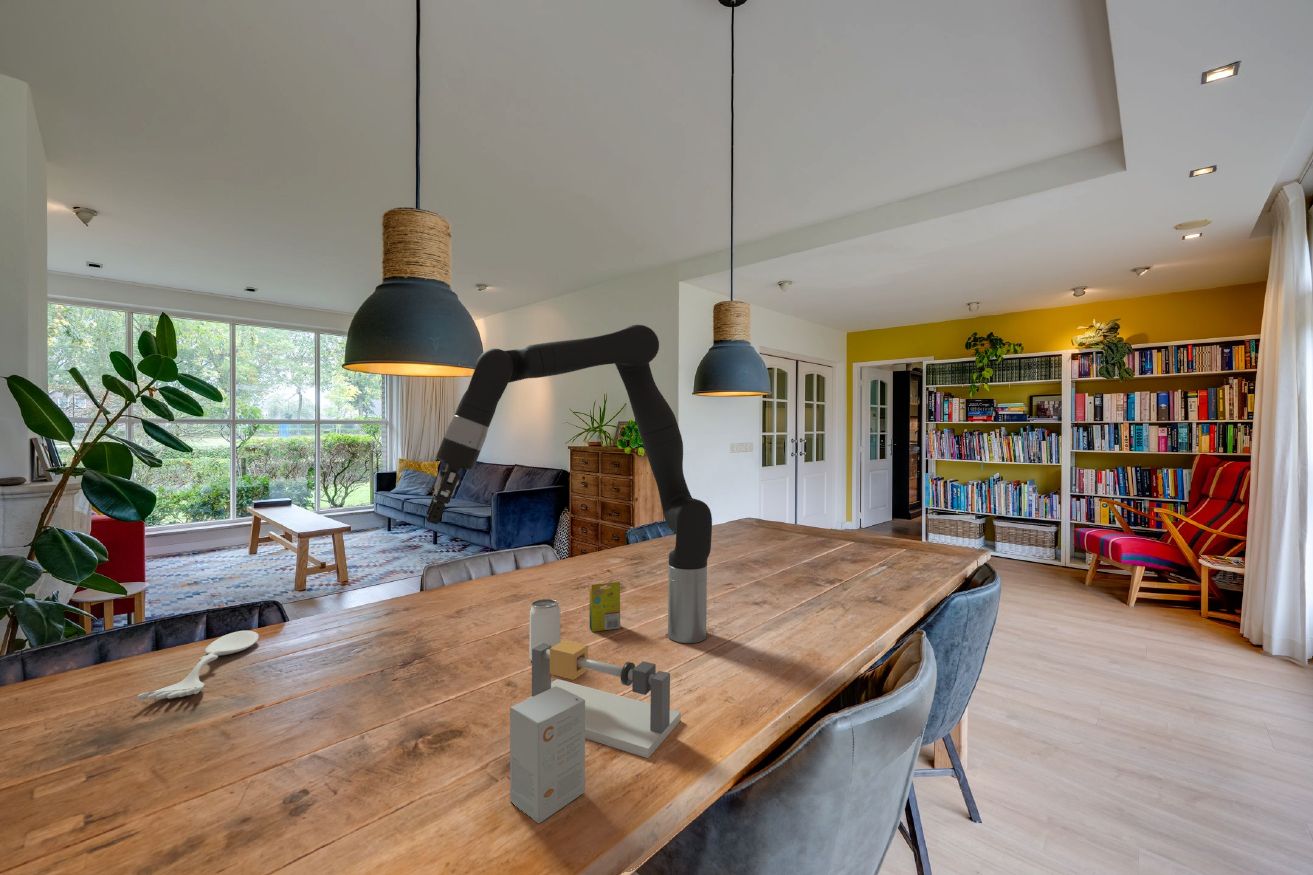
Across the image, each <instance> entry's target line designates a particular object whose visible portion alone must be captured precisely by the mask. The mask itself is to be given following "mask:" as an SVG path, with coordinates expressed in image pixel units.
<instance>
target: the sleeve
mask: <svg viewBox="0 0 1313 875" xmlns="http://www.w3.org/2000/svg"><path fill="white" fill-rule="evenodd" d="M578 657H583V658H587V659H589V645H588V644H584V643H580V642H575V641H571V640H567V639H564V640H562V641H560V643H559V644H557V645H555V646H554V647H552V648H550V674H551V675H553V676H557V677H561V678H565V679H569V680H572V681H573V680H574V681H575V679H577V678H578V677H579V676H581V675H582V674H584V673H585V672H586V671H588V670H589V669H585V668H581V667H577V658H578Z"/></svg>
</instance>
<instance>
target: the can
mask: <svg viewBox="0 0 1313 875" xmlns="http://www.w3.org/2000/svg"><path fill="white" fill-rule="evenodd" d="M529 610H530V611H529V660H530V661H531V662H532V649H533V648H535V647H537V646H538V645H540V644H542V643H544V644H548V645H551V648H552V647H554V646H555V645H557V644H559V643H561V608H560V605H559V601H558V600H555V599H551V598H545V599H544V598H543V599H539V600H535V601H533V602H531V608H530V609H529Z"/></svg>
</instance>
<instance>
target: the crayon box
mask: <svg viewBox="0 0 1313 875" xmlns="http://www.w3.org/2000/svg"><path fill="white" fill-rule="evenodd" d="M620 584H621V583H620V581H616V582H607V583H597V584H596V583H595V584H591V589H589V592H588V593H589V595H588V596H589V597H588V598H589V630H590V631H591V633H594V632H600V631H608V630H616V629H617V630H620V629H621V590H620V589H621V588H620V587H621V586H620ZM605 586H607V587H605ZM609 586H611V587H609ZM601 587H602V588H601Z"/></svg>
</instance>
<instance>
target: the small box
mask: <svg viewBox="0 0 1313 875" xmlns="http://www.w3.org/2000/svg"><path fill="white" fill-rule="evenodd" d="M530 697H531V696H530ZM528 698H529V697H528ZM528 698H526V699H527V700H526V699H524V700H523V701H521V702H518V703H516V704H515V705H513V706H510V707H509V741H510V742H509V750H510V752H509V754H510V758H509V761H510V762H509V764H510V765H509V770H510V771H509V772H510V774H509V775H510V776H509V784H510V788H509V789H510V790H509V791H510V792H509V794H510V795H509V797H510V798H509V799H510V803H511V802H512V803H513V804H514V805H516V806H517V807H518V808H519V809H518V808H517V807H516V806H515V807H516V808H517V809H518V810H520V811H521V810H522V811H523V812H522V811H521V812H522V813H523V814H525V813H526V814H527V815H528V817H529V816H530V817H531V818H532V819H531V818H530V817H529V818H530V819H531V820H533V821H535V822H536V823H537V824H541V823H543V822H544V821H545V820H547V819H548V818H550V817H551V816H553V815H554V814H556V813H558V811H560V810H561V809H562V808H564V807H566V806H567V805H568V804H570V803H571V802H572V801H574V800H576V799H577V798H579V797H580V796H582V795H583V794H584V793H586V738H585V700H584V699H582V698H580V697H579V696H577V695H575V694H572V693H570V692H568V691H566V690H564V689H562V688H560V687H557V686H555V687H553V688H551V689H549V690H547V691H544V692H542V693H540V694H538V695H536V696H534V697H531V698H529V699H528ZM512 803H511V804H512ZM513 804H512V805H513ZM514 805H513V806H514ZM526 814H525V815H526ZM527 815H526V816H527Z"/></svg>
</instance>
